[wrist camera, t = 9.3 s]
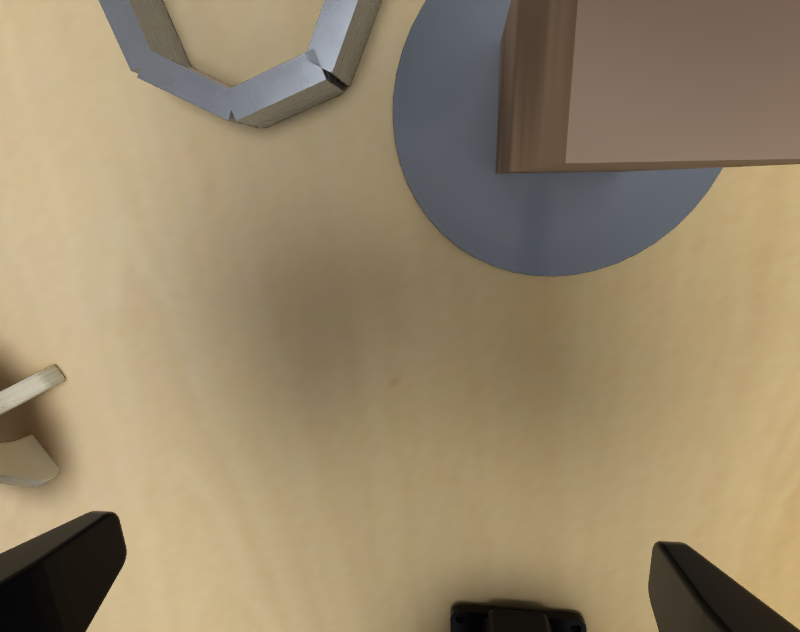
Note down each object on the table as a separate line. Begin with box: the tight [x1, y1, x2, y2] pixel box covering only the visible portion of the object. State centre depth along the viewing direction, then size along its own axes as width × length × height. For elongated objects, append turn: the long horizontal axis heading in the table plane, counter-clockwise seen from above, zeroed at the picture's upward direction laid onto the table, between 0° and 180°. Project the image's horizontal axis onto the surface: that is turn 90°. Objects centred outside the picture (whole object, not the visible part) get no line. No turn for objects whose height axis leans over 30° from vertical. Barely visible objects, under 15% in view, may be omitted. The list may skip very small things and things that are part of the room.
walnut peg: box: [496, 0, 800, 174], centre depth 11 cm, size 4×4×13 cm
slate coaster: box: [393, 0, 723, 276], centre depth 17 cm, size 12×12×1 cm
